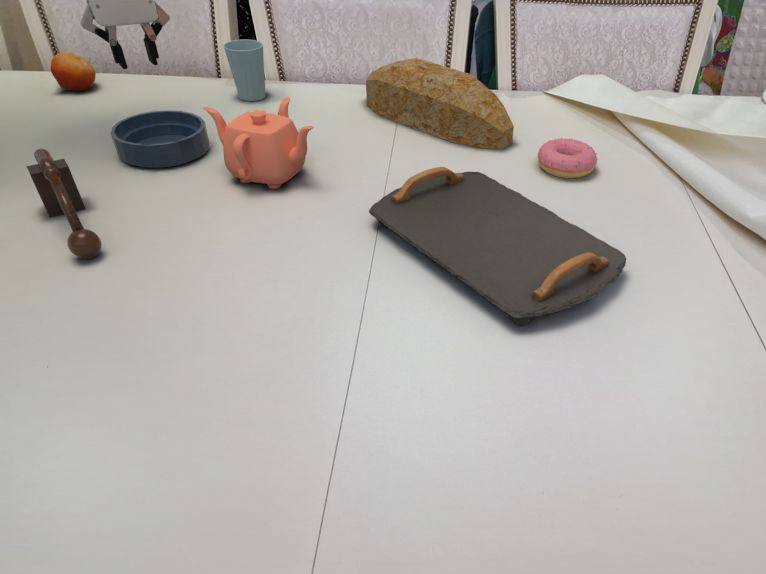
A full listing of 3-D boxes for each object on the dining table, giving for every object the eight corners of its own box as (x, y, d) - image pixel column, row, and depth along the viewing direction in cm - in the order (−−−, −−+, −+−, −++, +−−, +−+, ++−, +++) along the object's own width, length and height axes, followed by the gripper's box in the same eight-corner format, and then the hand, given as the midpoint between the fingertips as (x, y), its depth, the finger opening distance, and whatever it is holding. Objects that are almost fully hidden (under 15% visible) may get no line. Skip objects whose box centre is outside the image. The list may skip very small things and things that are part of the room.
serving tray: (355, 217, 97) (352, 181, 93) (466, 178, 109) (468, 144, 104) (529, 347, 76) (535, 307, 72) (642, 281, 88) (654, 244, 84)
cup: (278, 95, 133) (270, 44, 126) (251, 106, 128) (241, 53, 121) (254, 87, 136) (244, 37, 129) (226, 97, 131) (215, 45, 124)
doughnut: (605, 167, 115) (610, 145, 112) (576, 187, 108) (580, 165, 105) (555, 150, 119) (558, 129, 117) (524, 168, 113) (527, 147, 110)
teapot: (216, 166, 108) (201, 102, 100) (296, 153, 113) (288, 92, 106) (235, 203, 98) (221, 136, 91) (322, 187, 104) (314, 122, 96)
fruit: (47, 77, 131) (56, 41, 127) (90, 94, 136) (99, 60, 132) (43, 90, 125) (52, 53, 122) (87, 107, 130) (97, 72, 127)
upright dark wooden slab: (85, 208, 95) (68, 166, 90) (49, 217, 93) (29, 174, 88) (81, 200, 97) (64, 158, 92) (45, 208, 94) (26, 165, 90)
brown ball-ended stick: (109, 258, 85) (85, 200, 79) (77, 267, 84) (50, 208, 78) (76, 198, 97) (53, 143, 91) (48, 205, 95) (22, 149, 89)
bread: (352, 106, 131) (349, 56, 124) (387, 93, 138) (385, 45, 131) (490, 156, 116) (494, 102, 109) (521, 138, 123) (527, 87, 116)
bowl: (114, 174, 104) (105, 148, 101) (124, 137, 114) (116, 113, 111) (209, 166, 107) (203, 141, 104) (210, 131, 118) (205, 108, 115)
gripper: (153, -60, 106) (179, 53, 118) (42, -56, 98) (82, 65, 110) (166, -52, 102) (192, 64, 114) (52, -47, 93) (93, 78, 106)
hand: (138, 63), depth 112 cm, fingers open, 4 cm apart
